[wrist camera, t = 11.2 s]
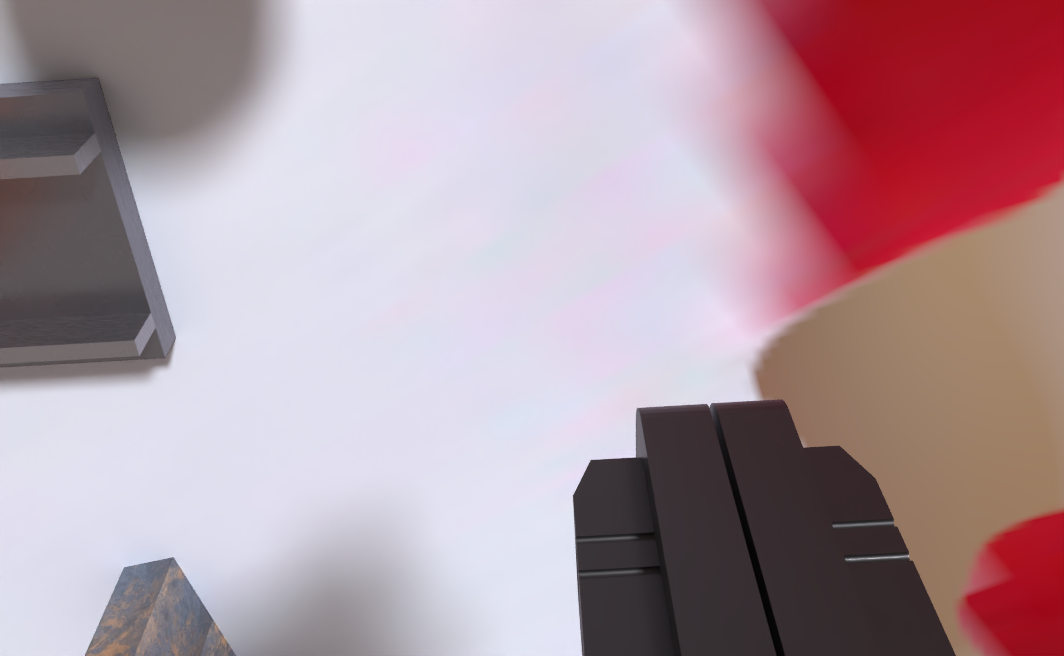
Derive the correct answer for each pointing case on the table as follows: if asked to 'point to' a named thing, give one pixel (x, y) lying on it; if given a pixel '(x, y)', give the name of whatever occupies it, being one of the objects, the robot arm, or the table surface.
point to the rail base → (71, 235)
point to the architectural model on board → (156, 616)
